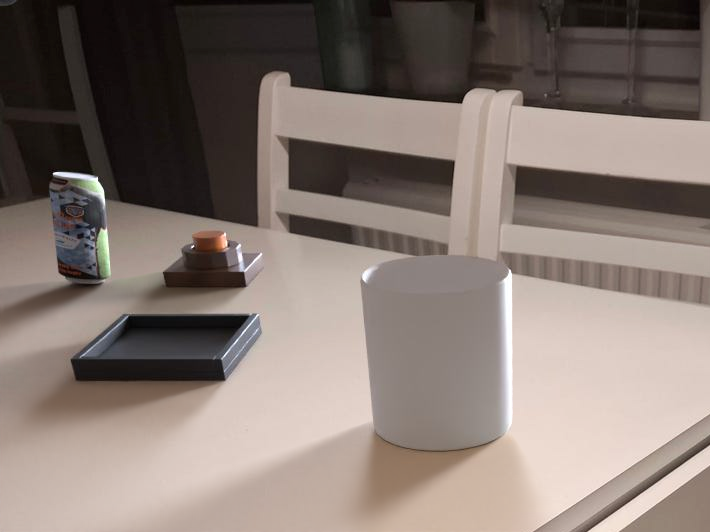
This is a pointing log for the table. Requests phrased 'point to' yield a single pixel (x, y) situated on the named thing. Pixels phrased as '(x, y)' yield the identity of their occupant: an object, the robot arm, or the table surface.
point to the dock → (168, 347)
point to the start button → (209, 241)
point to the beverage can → (80, 227)
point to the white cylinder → (439, 350)
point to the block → (213, 267)
